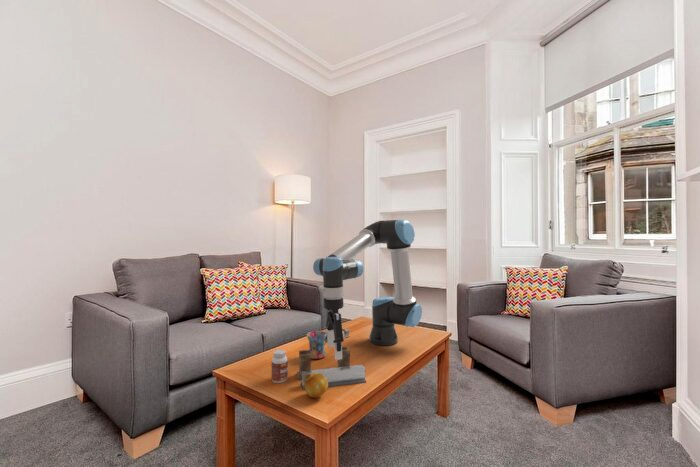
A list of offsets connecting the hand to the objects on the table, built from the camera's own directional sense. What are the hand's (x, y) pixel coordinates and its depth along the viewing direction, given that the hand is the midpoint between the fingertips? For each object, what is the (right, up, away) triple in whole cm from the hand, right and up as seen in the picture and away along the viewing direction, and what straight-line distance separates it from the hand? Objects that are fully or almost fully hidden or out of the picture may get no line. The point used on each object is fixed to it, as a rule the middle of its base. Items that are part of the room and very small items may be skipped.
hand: (334, 352), depth 127 cm
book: (-2, -12, +53) cm, 54 cm away
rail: (0, -11, 0) cm, 11 cm away
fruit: (-6, -12, -11) cm, 17 cm away
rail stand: (-4, -11, +8) cm, 15 cm away
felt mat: (0, -11, 0) cm, 11 cm away
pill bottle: (-22, -12, +2) cm, 25 cm away
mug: (-9, -12, +27) cm, 31 cm away
